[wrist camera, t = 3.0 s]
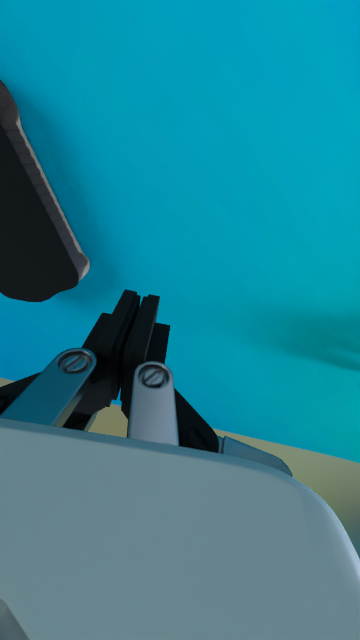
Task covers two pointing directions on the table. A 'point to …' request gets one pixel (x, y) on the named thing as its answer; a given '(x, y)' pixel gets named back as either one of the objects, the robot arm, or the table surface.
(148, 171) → the table surface
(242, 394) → the table surface
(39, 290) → the black sponge
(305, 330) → the table surface
